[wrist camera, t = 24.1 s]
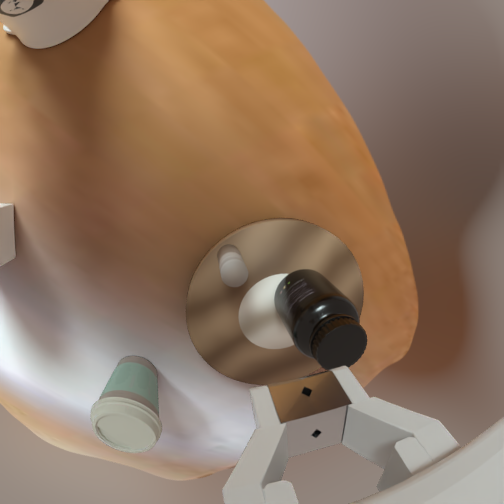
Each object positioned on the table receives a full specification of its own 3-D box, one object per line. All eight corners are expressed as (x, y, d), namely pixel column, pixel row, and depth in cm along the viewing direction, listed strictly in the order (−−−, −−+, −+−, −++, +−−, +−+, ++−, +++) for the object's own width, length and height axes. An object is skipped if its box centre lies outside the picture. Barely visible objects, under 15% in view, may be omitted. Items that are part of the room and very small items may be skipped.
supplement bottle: (338, 285, 36) (391, 334, 24) (304, 329, 37) (342, 390, 25) (296, 255, 34) (343, 299, 22) (260, 303, 35) (288, 365, 23)
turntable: (148, 301, 34) (137, 334, 27) (295, 178, 33) (321, 181, 26) (261, 400, 41) (272, 437, 34) (382, 307, 40) (412, 332, 33)
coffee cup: (99, 350, 36) (74, 408, 25) (157, 344, 37) (146, 406, 26) (120, 395, 39) (105, 455, 27) (173, 391, 40) (170, 454, 28)
